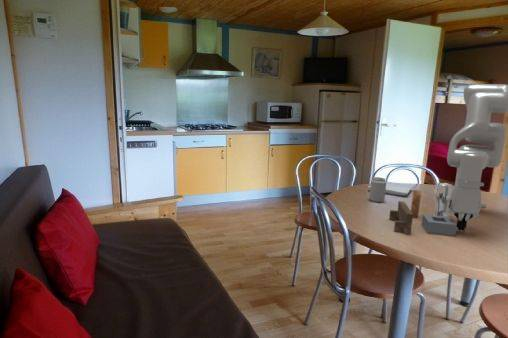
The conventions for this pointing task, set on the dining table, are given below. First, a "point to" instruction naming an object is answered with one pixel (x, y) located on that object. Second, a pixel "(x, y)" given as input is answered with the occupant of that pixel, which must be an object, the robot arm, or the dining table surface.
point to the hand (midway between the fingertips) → (460, 229)
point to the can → (377, 189)
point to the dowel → (415, 203)
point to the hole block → (438, 225)
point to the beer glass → (442, 199)
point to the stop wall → (402, 218)
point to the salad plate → (397, 189)
